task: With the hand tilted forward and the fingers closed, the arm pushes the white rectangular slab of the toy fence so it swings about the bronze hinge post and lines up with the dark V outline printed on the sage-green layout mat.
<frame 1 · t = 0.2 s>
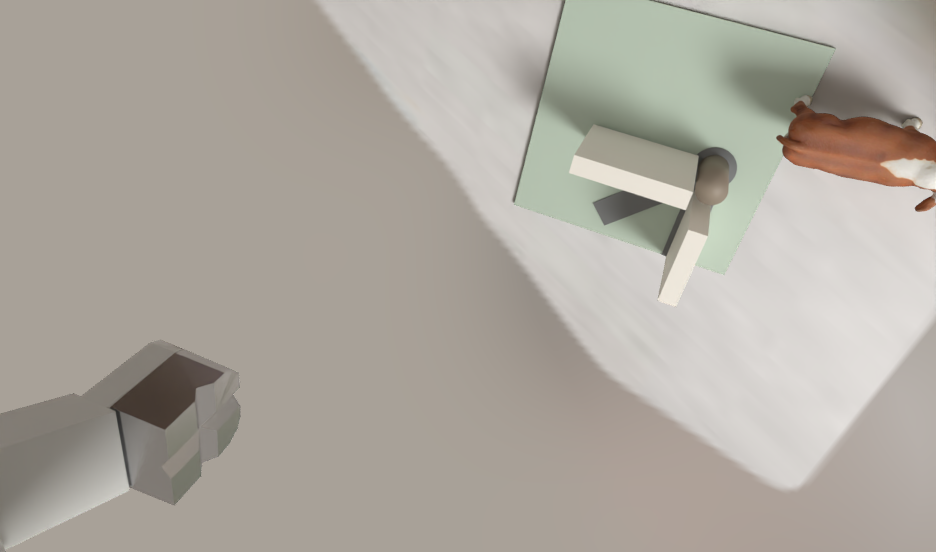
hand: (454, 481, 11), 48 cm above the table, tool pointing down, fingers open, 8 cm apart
bull figurine: (863, 130, 48), on the table, touching layout mat
layout mat: (653, 136, 54), on the table
white rectangular slab: (636, 164, 51), point 5 cm above the table, hinge at 0.0°
fixed rail: (713, 167, 53), resting on layout mat
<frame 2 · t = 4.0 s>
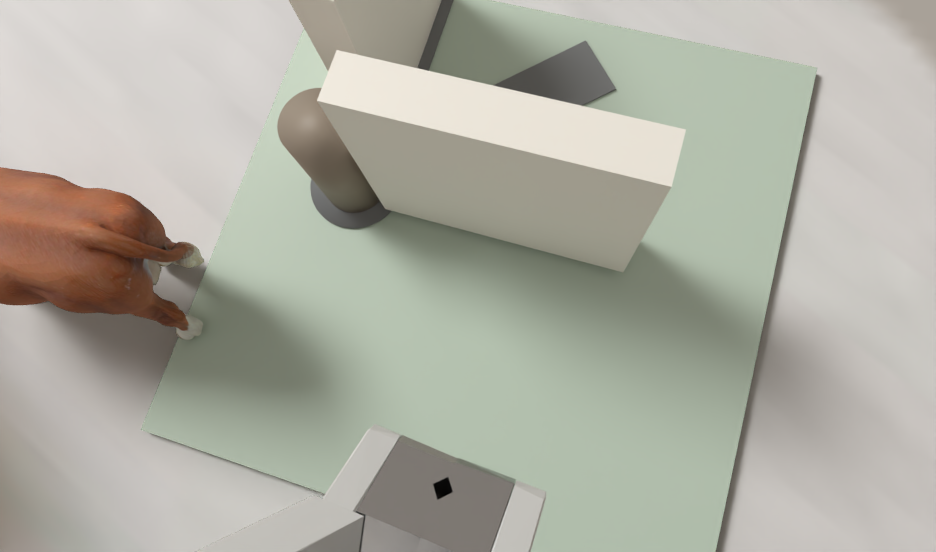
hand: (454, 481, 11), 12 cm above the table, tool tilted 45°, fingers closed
bull figurine: (97, 270, 25), on the table, touching layout mat
layout mat: (486, 247, 24), on the table
white rectangular slab: (501, 178, 20), point 5 cm above the table, hinge at 0.0°
fixed rail: (358, 187, 25), resting on layout mat
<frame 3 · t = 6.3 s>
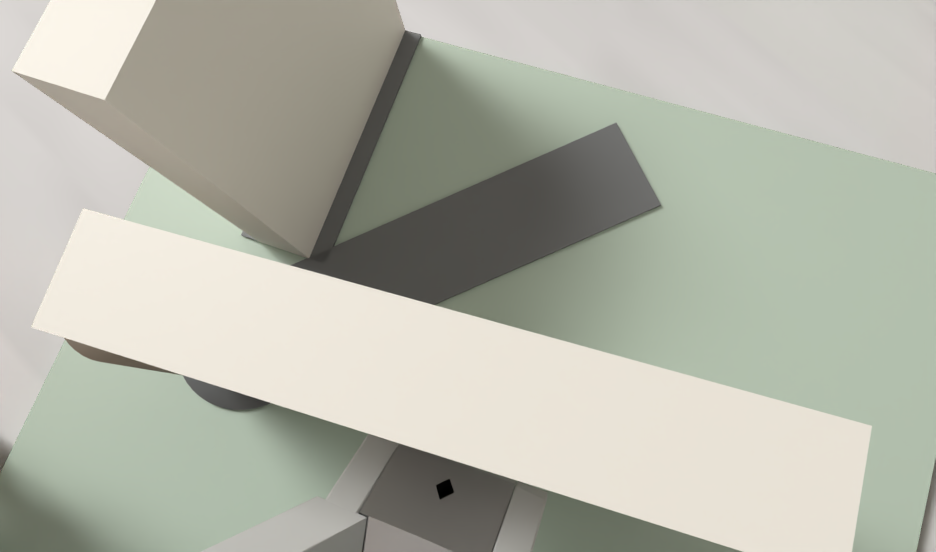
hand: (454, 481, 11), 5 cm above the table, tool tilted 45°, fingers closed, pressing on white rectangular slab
layout mat: (441, 454, 15), on the table
white rectangular slab: (459, 394, 11), point 5 cm above the table, hinge at 3.6°, touching gripper
fixed rail: (252, 337, 16), resting on layout mat
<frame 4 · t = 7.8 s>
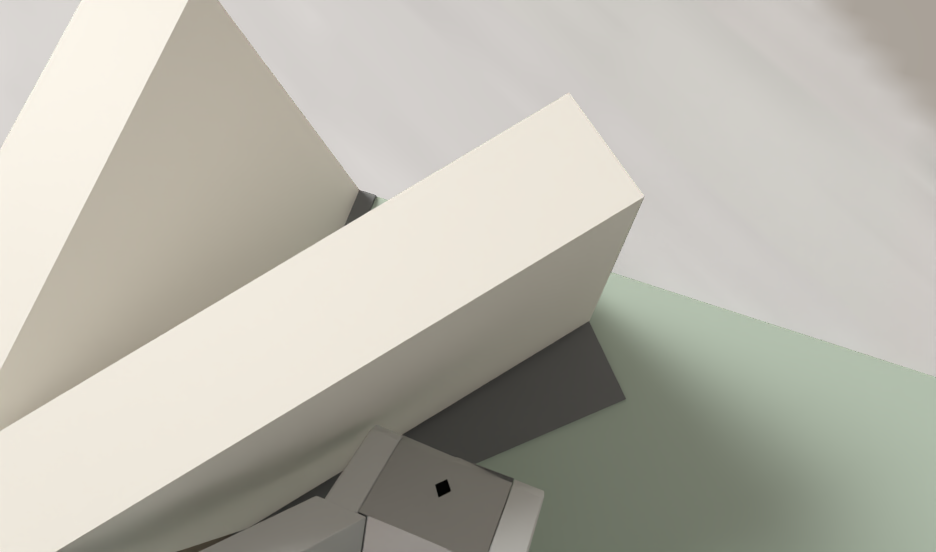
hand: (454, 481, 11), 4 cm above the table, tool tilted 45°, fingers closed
white rectangular slab: (356, 381, 11), point 5 cm above the table, hinge at 50.9°, touching gripper
fixed rail: (190, 528, 15), resting on layout mat
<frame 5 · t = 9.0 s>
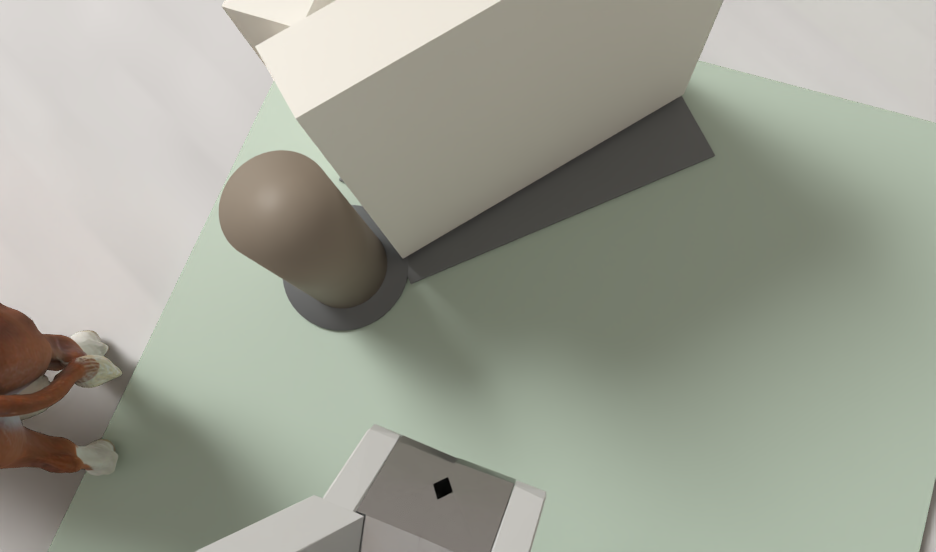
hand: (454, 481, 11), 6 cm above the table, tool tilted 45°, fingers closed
layout mat: (519, 370, 17), on the table
white rectangular slab: (527, 76, 14), point 5 cm above the table, hinge at 51.0°
fixed rail: (348, 269, 18), resting on layout mat
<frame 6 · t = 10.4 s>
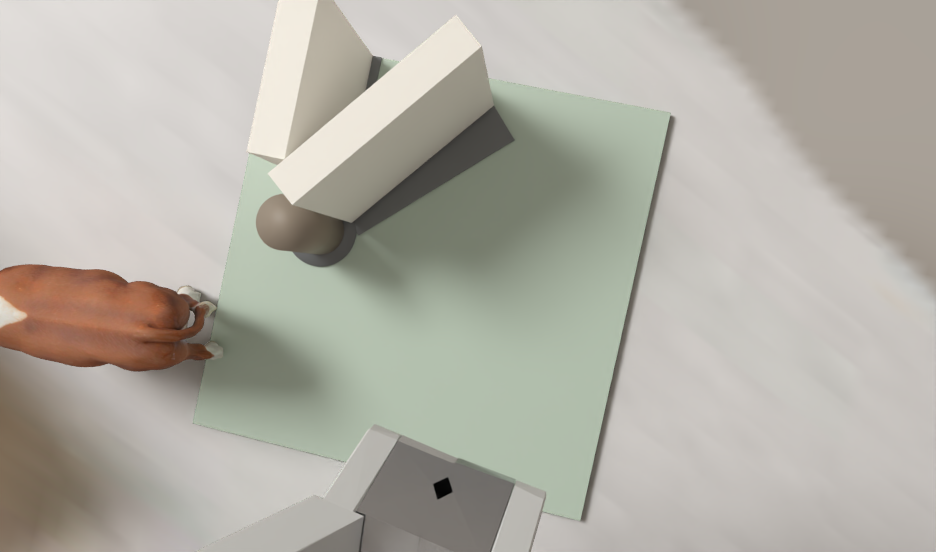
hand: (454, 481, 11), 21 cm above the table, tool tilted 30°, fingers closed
bull figurine: (135, 308, 34), on the table, touching layout mat
layout mat: (424, 273, 32), on the table
white rectangular slab: (395, 134, 27), point 5 cm above the table, hinge at 51.0°
fixed rail: (323, 231, 33), resting on layout mat
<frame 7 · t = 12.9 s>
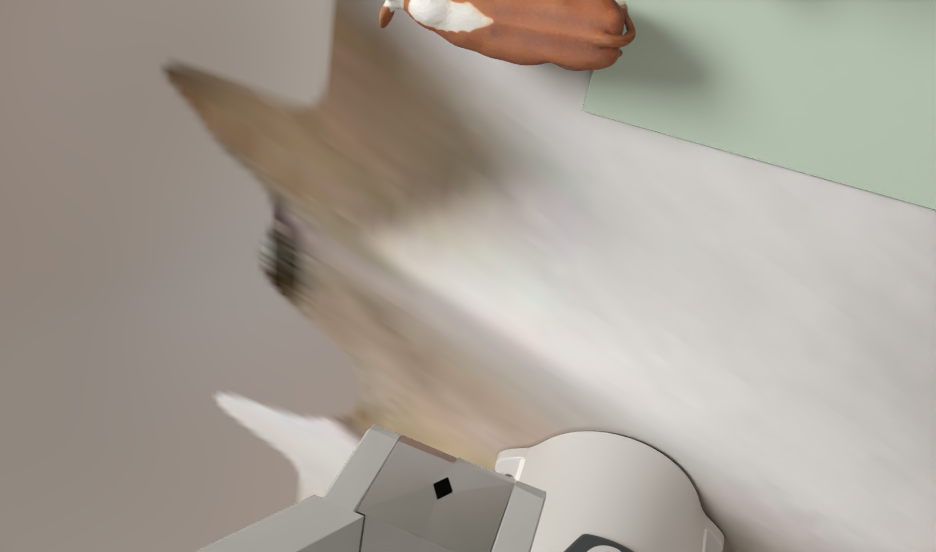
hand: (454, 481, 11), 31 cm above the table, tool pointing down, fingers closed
bull figurine: (529, 2, 36), on the table, touching layout mat
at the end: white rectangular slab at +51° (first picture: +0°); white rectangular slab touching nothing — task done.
